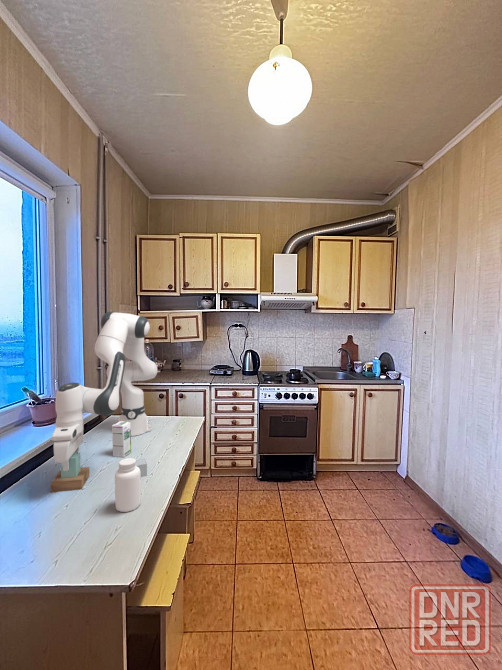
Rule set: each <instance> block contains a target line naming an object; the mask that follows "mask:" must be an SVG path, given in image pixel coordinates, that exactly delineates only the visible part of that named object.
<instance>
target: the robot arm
mask: <svg viewBox="0 0 502 670" xmlns="http://www.w3.org/2000/svg"><path fill="white" fill-rule="evenodd" d="M100 320H101V321H100V328H101V330H100V332H99V334H98V336H97V339H96V342H95V344H94V353H95V355H96V357H98V359H100V360H101V361H103V362H105V363H107V364H108V367H107V369H106V377H107V379H106V385H105V386H104V387H103V388H94V387H87V386H84V385H81V384H80V383H79V382H68V383H65V384H62V385H60V386H59V387H58V388H57V390H56V393H55V403H54V404H55V405H54V406H55V413H56V418H55V428H54V431H53V433H52V434H51V441H52V442H53V458H54V462H55V463H56V464H60V465H61V464H62V466H63V471H67V470H69V468H70V464H69V462H68V461H69V458H70V457H71V456H72V455H73V453H79V451H80V446H81V445H82V443H83V442H84V414H86V413H87V414H93V415H97V416H98V415H99V416H103V417H109V416H111V415H113V414H114V413H115V412H116V411H117V410H118V408H119V406H120V403H121V404H122V405H121V412H120V413H121V415H120V416H119V417H118V422H120V421H127V422H130V425H131V437H135V436H139V435H140V436H141V435H143V434H145V433H147V432H151V431H152V426H151V424H150V422H149V421H148V415H147V414H146V412H145V411H146V407H145V404H144V403H145V400H144V399H145V398H144V397H145V396H144V390H143V389H142V388H140V387H137V386H135V385H133V382H141V381H142V382H143V381H149V380H152V379H155V378H156V376H157V375H158V366H157V364H156V363H155V361H153V360H151V359H150V358H149V357H148V356H147V354H146V352H145V337H147V336H148V334H149V332H150V329H151V328H150V327H151V326H150V324H151V323H150V321H149V319H148V318H146V317H145V316H141V315H136V314H132V313H125V312H115V311H107V312H106V313H104V314H103V315H102V317H101V319H100ZM126 359H128V360H126ZM118 422H117V423H118Z"/></svg>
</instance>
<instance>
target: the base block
mask: <svg viewBox="0 0 502 670" xmlns="http://www.w3.org/2000/svg"><path fill="white" fill-rule="evenodd" d="M89 478H90V466H88V467H87V466H86V467H81V471H80V472H79V473H78V475H77V476H76V477H69V478H61V469H60V470H59V471H58V472H57V474H56V476H55V477H53V479H52V481H51V482H50V493H52V494H53V493H59V492H70V491H78V490H79V491H81V490H83V488H84V486H85V485H86V483H87V481H88V479H89Z"/></svg>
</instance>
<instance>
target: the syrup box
mask: <svg viewBox="0 0 502 670" xmlns="http://www.w3.org/2000/svg"><path fill="white" fill-rule="evenodd" d="M111 431H112V432H111V434H112V435H111V437H112V456H113V457H115V458H125V457H126V456H127V455H128V456H129V455H130V454H131V453H132V439H131V438H132V436H131V425H130V422H127V421H120V422H116V423H114V424H112V425H111Z"/></svg>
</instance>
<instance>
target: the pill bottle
mask: <svg viewBox="0 0 502 670" xmlns="http://www.w3.org/2000/svg"><path fill="white" fill-rule="evenodd" d="M136 460H137V459H136V458H134V457H127V458H124V459H121V460H120V461H119V462H118V469H117V470H116V471H115V473H114V495H115V498H114V499H115V501H114V502H115V503H114V504H115V509H116V510H117V511H118V512H121V513H125V512H126V513H127V512H131V511H134V510H137V508H139V507H140V506H141V504H142V483H141V481H142V480H141V479H142V477H141V473H140V469H139V468H138V467H137V466H136Z"/></svg>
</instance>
